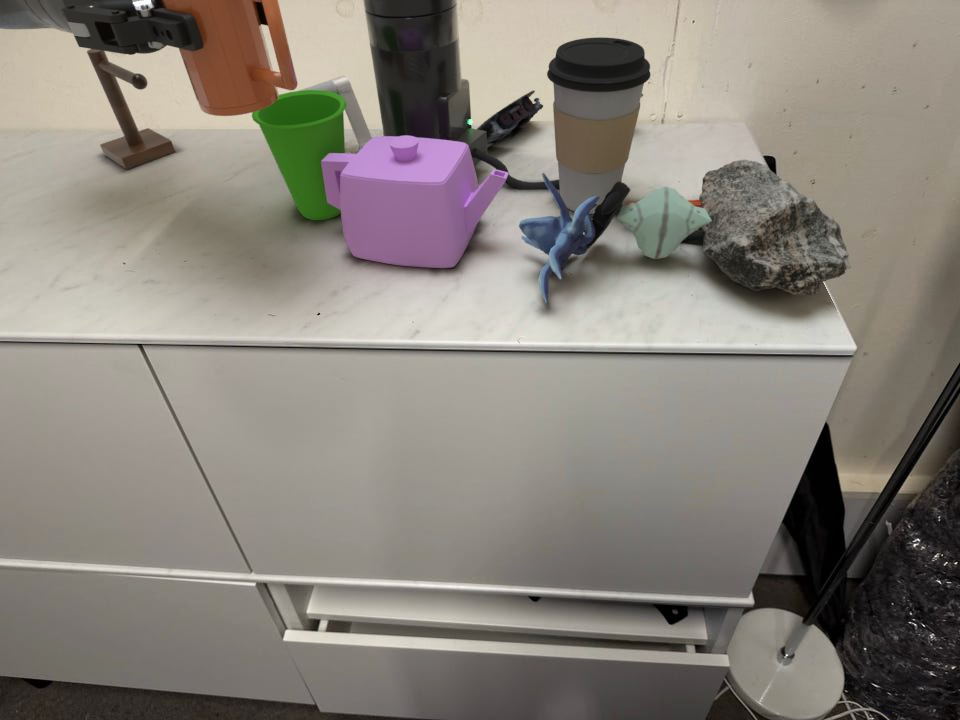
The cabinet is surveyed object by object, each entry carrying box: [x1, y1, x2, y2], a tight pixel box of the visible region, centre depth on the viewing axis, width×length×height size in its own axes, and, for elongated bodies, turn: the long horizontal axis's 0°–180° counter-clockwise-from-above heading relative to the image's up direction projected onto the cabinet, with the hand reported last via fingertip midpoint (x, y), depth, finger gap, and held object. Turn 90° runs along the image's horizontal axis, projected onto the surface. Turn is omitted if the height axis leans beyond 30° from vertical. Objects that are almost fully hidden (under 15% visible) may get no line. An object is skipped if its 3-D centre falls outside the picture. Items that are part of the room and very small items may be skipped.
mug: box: [162, 0, 299, 117], centre depth 44 cm, size 10×6×10 cm, turn 54°
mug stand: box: [86, 49, 176, 170], centre depth 74 cm, size 14×6×12 cm, turn 47°
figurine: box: [518, 172, 631, 305], centre depth 54 cm, size 10×12×8 cm
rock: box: [698, 159, 852, 296], centre depth 55 cm, size 18×10×10 cm
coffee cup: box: [546, 36, 651, 215], centre depth 61 cm, size 9×9×15 cm
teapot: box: [321, 135, 510, 269], centre depth 58 cm, size 18×10×10 cm, turn 75°
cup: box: [251, 90, 346, 221], centre depth 64 cm, size 9×9×11 cm
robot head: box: [616, 186, 712, 260], centre depth 55 cm, size 8×4×7 cm, turn 82°
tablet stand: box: [298, 75, 373, 154], centre depth 73 cm, size 9×8×8 cm
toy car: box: [476, 89, 544, 148], centre depth 78 cm, size 8×12×3 cm
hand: (235, 20), depth 43 cm, fingers closed on mug, 6 cm apart
